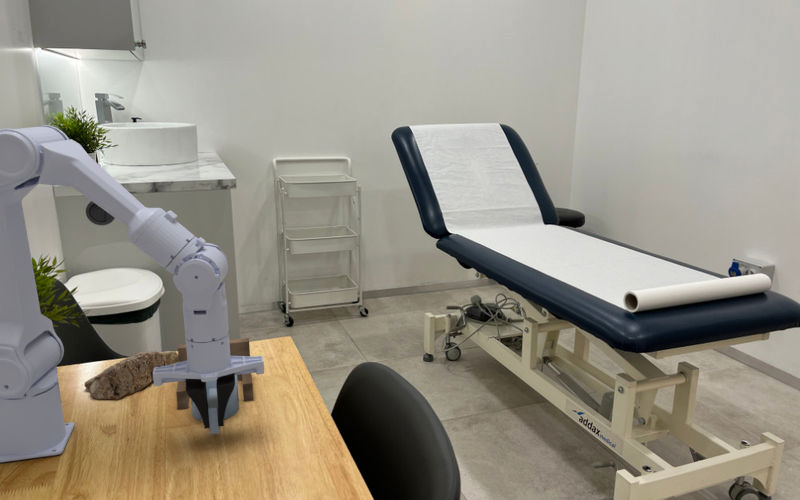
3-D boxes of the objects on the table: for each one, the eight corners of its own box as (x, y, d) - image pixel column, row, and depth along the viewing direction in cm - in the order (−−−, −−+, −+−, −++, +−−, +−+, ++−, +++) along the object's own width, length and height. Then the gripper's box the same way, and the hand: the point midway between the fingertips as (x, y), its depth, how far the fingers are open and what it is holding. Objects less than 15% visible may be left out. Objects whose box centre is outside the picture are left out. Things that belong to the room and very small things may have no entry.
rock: (121, 406, 95) (117, 373, 94) (70, 396, 98) (66, 363, 97) (183, 366, 109) (180, 337, 108) (137, 358, 112) (133, 329, 111)
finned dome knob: (189, 446, 84) (185, 404, 82) (193, 402, 96) (190, 364, 94) (240, 439, 86) (238, 398, 84) (238, 396, 98) (236, 359, 96)
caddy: (177, 409, 94) (174, 368, 92) (181, 382, 102) (178, 344, 101) (253, 400, 97) (251, 360, 95) (251, 375, 105) (248, 338, 104)
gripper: (146, 352, 76) (156, 446, 80) (263, 340, 80) (268, 431, 83) (152, 331, 83) (161, 419, 86) (260, 321, 87) (264, 406, 90)
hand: (214, 423), depth 85 cm, fingers closed on finned dome knob
